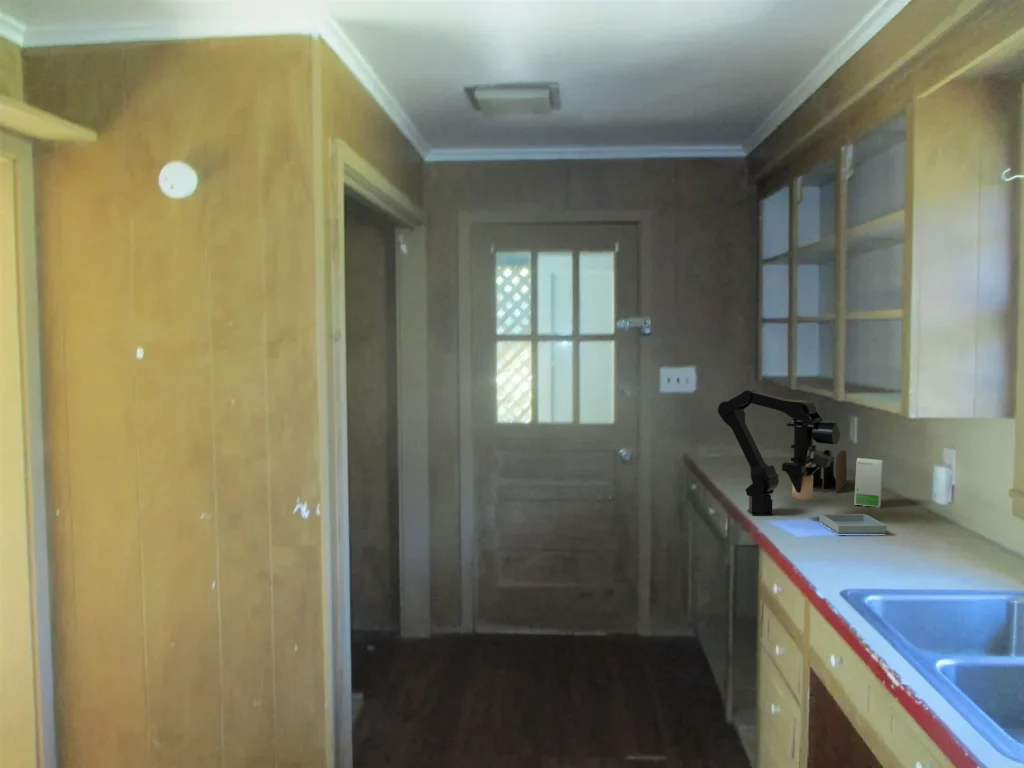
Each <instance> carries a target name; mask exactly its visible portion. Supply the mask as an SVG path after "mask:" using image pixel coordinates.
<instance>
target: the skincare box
mask: <svg viewBox="0 0 1024 768" xmlns="http://www.w3.org/2000/svg"><path fill="white" fill-rule="evenodd" d="M855 466H856V467H855V481H854V483H855V484H854V500H853V501H854V502H853V505H854V506H855V505H863V506H862V507H865V506H877V507H880V508H881V504H882V503H881V502H882V492H883V491H882V489H883V472H884V471H883V470H884V460H883V459H882V460H881V459H876V458H875V459H874V458H863V457H857V459H856V463H855Z"/></svg>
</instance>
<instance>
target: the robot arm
mask: <svg viewBox="0 0 1024 768" xmlns="http://www.w3.org/2000/svg"><path fill="white" fill-rule="evenodd" d="M752 404H753V405H756V406H757V405H758V406H761V407H765V408H768V409H772V410H775V411H779V412H782V413H784V414H785V415H786V416H788V417H790V418H792V419H791V420H790V421H789V422H788V423H786V426H787V427H793V443H792V444H791V445H790V448H791V449H793V451H792V452H793V453H792V457H790V460H787V461H784V462H783V463H782V464H781V471H782V472H785V473H786V474H787V475H788V477H789V479H790V481H791V483H792V487H793V486H794V488H795V490H796V492H797V493H800V492H801V487H802V481H803V476H804V475H805V474H810V475H813V473H814V472H815V471H816V470H817V469H819V468H820V467H822V469H823V468H826V467H829V465H830V463H831V461H833V457H834V456H833V452H832V451H833V450H830V449H825V450H824V451H822V450H819V449H817V445H816V444H815V443H818V444H825V445H837V444H838V443H839V442H840V436H841V433H840V432H841V431H840V429H839V426H838V423H837V422H836V421H824V419H823V418H822V417H821V415H820V414H819V412H818V411H817V407H816V405H815V402H813V401H811V400H803V399H802V400H801V399H787V398H784V397H780V396H777V395H772V394H768V393H764V392H760V391H757V390H755V389H747V390H744V391H743V392H741V393H740V394H738V395H736V396H734V397H733V398H731V399H729V400H724V401H722V402H720V403H719V405H718V408H717V413H718V415H719V417H720V418H721V420H722V421H723V422H724V423H725V424H726V425H727V426H728V427H729V428H730V429H731V430H732V432H733V434H734V437H735V439H736V440H737V443H738V445H739V447H740V449H741V450H742V453H743V455H744V457H745V459H746V461H747V463H748V465H749V467H750V468H749V469H750V480H751V484H750V485H749V486H748V487H747V488H746V489H745V493H746V495H747V497H748V509H746V511H747V512H748V513H749V514H750V515H752V516H773V504H774V503H773V499H772V495H773V493H774V490H776V489H777V487H778V486H779V483H780V480H779V477H780V475H779V474H778V473H777V471H776V468H775V466H774V465H773V464H771V465H769V464H767V463H766V462H765V461H764V458H763V457H762V454H761V453H760V451H759V449H758V446H757V445H756V444H757V443H756V442H755V440H754V438H753V436H752V434H751V432H750V430H749V428H748V426H747V423H746V413H745V409H747V408H748V407H749V406H750V405H752ZM814 442H815V443H814ZM815 464H817V465H818V466H820V467H816V466H815Z"/></svg>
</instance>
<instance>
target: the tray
mask: <svg viewBox="0 0 1024 768" xmlns="http://www.w3.org/2000/svg"><path fill="white" fill-rule="evenodd" d="M819 522H820V523H822V524H823V525H825V526H826V527H828V528H830V529H831V530H833V531H834V532H836V533H837V534H886V535H887V530H888V527H887V526H888V525H886V524H885V523H883V522H881V521H879V520H877V519H876V518H874V517H872V516H870V515H868V514H866V513H830V514H829V513H828V514H827V513H825V514H823V513H821V514H819ZM819 522H818V523H819Z"/></svg>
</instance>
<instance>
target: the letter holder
mask: <svg viewBox="0 0 1024 768" xmlns="http://www.w3.org/2000/svg"><path fill="white" fill-rule="evenodd" d="M815 466H816V467H820V466H818V465H817V464H815ZM834 469H835V472H834ZM834 473H835V474H834ZM847 475H848V474H847V450H846V449H843V450H840V451H839V452H838V453H837V455H836V456H835V457H834V456H833V461H831V463H830V465H829V467H826V468H822V467H820V468H819V469H817V470H816V471H815V472H814V473H813V492H818V491H823V492H822V493H828V492H836V493H835V494H838V493H839V492H840V491H841V490H842V489H843V488H844V487H845V486H846V485H847V481H848V480H847V477H848V476H847ZM845 484H846V485H845ZM844 485H845V486H844ZM843 486H844V487H843ZM842 487H843V488H842ZM841 488H842V489H841Z"/></svg>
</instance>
